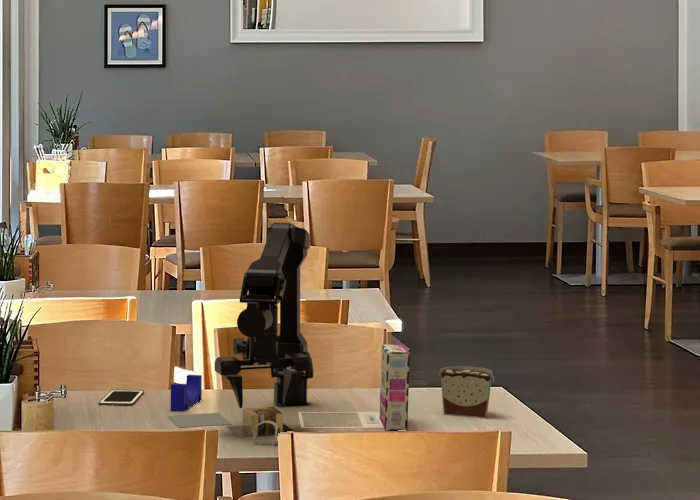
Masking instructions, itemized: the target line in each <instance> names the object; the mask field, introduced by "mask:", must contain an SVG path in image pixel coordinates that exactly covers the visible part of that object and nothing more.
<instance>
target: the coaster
mask: <svg viewBox="0 0 700 500" xmlns="http://www.w3.org/2000/svg"><path fill="white" fill-rule="evenodd" d="M167 418H168V419H169V420H170V421H171V422H172V423H173V424H174V425H175V426H176V427H177V428H178V429H186V428H200V427H202V428H203V427H214V426H215V427H217V426H233V425H232V424H233V423H231V422H230V421H229V420H227V418H226V417H224V416H223V415H222V414H221V413H219V412H209V413H208V412H207V413H193V414H191V413H190V414H174V415H167Z"/></svg>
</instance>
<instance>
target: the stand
mask: <svg viewBox="0 0 700 500" xmlns="http://www.w3.org/2000/svg"><path fill="white" fill-rule="evenodd" d="M263 421H266V412H265V411H259V412H258V424H259V423H261V422H263ZM225 426H226V428H227V429H229V430H230V432H232V433H233V434H234V435H235V436H237V437H238V439H245V438H254V437H253V435H250V434H249V433H248V432H247V431H245V430H244V429H243V428H242V424H241V425H225ZM287 431H294V429H292V428H290V427H289V426H288V425H286V424H285V423H284V422H283V432H287ZM273 436H274V437H275V433H274V432H273V431H272V430H271V429H269V428H266V423H262V424H261V425H258V435H257V438H258V437H260V438H261V437H273Z"/></svg>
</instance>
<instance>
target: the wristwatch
mask: <svg viewBox="0 0 700 500" xmlns="http://www.w3.org/2000/svg"><path fill="white" fill-rule="evenodd" d="M262 423H270V424H272V425H273V426H274V427H275V436H274V437H275V442H274V443H273V444H272V446H275V445H276V444H278V443H277V442H278V441H277V436H278V433H280V429H279V427H278V426H277V424H276V423H275V422H273V421H263V422H261V423H259V424H257V425H256V426H255V427H254V430H253V437H252V438H253V441H254V443H255V444H256V445H262V442H261V441H259V440H258V437H257V431H256V428H257V426H258V425H261V424H262Z"/></svg>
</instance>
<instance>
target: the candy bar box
mask: <svg viewBox="0 0 700 500" xmlns="http://www.w3.org/2000/svg"><path fill="white" fill-rule="evenodd" d="M380 353H381V354H380V355H381V356H380V357H381V358H380V361H381V363H380V385H379V386H380V390H379V391H380V392H379V393H380V394H379V412H380V420H381V422H382V425H383V427H384V430H383V431H385V432H399V431H398V430H407V431H408V424H409V423H408V419H409V417H408V416H409V392H410V391H409V387H410V359H411V357H410V356H411V353H410V351H409V350H408V349H407V348H406V347H405V345H403V344H396V343H395V344H390V343H389V344H386V343H385V344H381V352H380Z"/></svg>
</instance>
